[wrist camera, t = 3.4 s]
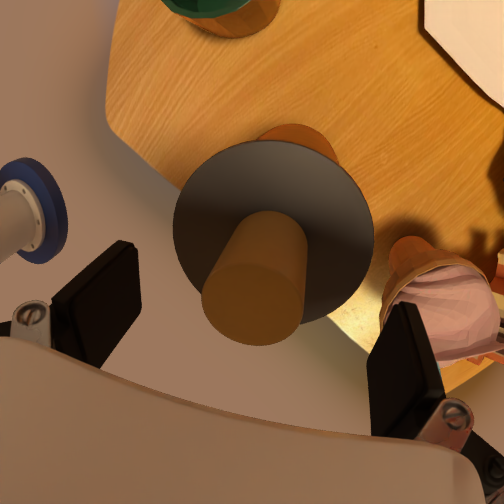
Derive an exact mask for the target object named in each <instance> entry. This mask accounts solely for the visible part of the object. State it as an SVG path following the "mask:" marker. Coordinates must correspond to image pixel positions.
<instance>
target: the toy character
mask: <svg viewBox="0 0 504 504" xmlns="http://www.w3.org/2000/svg"><path fill="white" fill-rule="evenodd" d="M497 258H499V260H498V265H497V270H496V275H495V277H494V279H493V280H492V281H491V282H490V284H489V285H490V288H491V290H492V294H493V296H494V298H495V301H496V303H497V306H498V308H499V313H500V319H501V321H500V326H499V331H498V335H497V338H496V341H497V342H499V343H503V344H504V248H502V250H501V251H500V252H499V253H498V257H497ZM484 356H485V357H487V358H490V359H492V360H494V361H497V362H499V363H501V364H504V349H502V350H498V351H494V352H490V353H487V354H483V355H479V356H475V357H470V358H467V360H468V361H470V362H472V363H474V364H477V365H480V363H481V362H482V360H483V359H484Z"/></svg>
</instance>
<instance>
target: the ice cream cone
mask: <svg viewBox="0 0 504 504" xmlns="http://www.w3.org/2000/svg"><path fill="white" fill-rule="evenodd" d="M388 260H389V271H390V278H389V280H388V281H387V283H386V285H385V288H384V292H383V295H382V307H381V311H380V314H379V319H380V333H381V331H382V329H383V327H384V325H385V323H386V321H387V318H388V316H389V314H390V312H391V310H392V308H393V306H394V305H395V304H399V302H400V301H405V302H410V303H415V304H416V305H417V307H418V310H419V312H420V315H421V318H422V321H423V323H424V326H425V329H426V332H427V335H428V338H429V341H430V344H431V347H432V350H433V353H434V356H435V359H436V362H437V366H438V369H439V372H440V368H443V367H446V366H450V365H452V364H454V363H455V362H457V361H458V360H462V359H466V358H470V357H475V356H479V355H483V354H487V353H490V352H494V351H498V350H502V349H504V344H503V343H499V342H497V341H496V338H497V335H498V331H499V326H500V321H501V319H500V313H499V308H498V306H497V303H496V301H495V298H494V296H493V294H492V290H491V288H490V285H489V283H488V281H487V279H486V276H485V275H484V273H483V272H482V271H481V270H480V269H479V268H478V267H477V266H475V265H474V264H473V263H472V262H470V261H469V260H466V259H463V258H461V257H460V256H459V255H457V254H456V253H454V252H450V251H446V250H442V249H439V250H435V249H434V248H433V247H432V246H431V245H430V244H429V243H428V242H427V241H425V240H424V239H422V238H421V237H417V236H405V237H403V238H401V239H399V240H398V241H397V242H396V243H395V244H394V246H393V247H392V249H391V250H390V253H389V257H388ZM440 376H441V372H440ZM441 379H442V378H441Z"/></svg>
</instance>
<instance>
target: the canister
mask: <svg viewBox="0 0 504 504" xmlns="http://www.w3.org/2000/svg"><path fill="white" fill-rule="evenodd" d="M161 1H162V2H163V3H164V4H165V5H166V6H167V7H168V8H169V9H170V10H171V11H172V12H174V13H175V14H177V15H179V16H181V17H183V18H185V19H187V20H188V21H190V22H192V23H194V24H195V25H197V26H199V27H201V28H202V29H204V30H206V31H208V32H210V33H212V34H215V35H217V36H220V37H226V38H240V37H245V36H249V35H252V34H254V33H257V32H259V31H260V30H262V29H263V28H265V27H266V26H267V25H268V24H269V23H270V22H271V21H272V20H273V19H274V18H275V16H276V14H277V12H278V10H279V7H280V1H281V0H161Z"/></svg>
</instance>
